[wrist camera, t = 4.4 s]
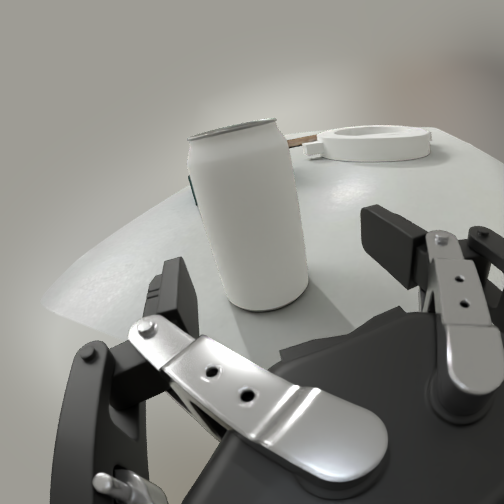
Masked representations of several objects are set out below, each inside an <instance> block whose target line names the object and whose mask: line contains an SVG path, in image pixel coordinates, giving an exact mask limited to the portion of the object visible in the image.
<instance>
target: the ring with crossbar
mask: <svg viewBox="0 0 504 504" xmlns="http://www.w3.org/2000/svg"><path fill="white" fill-rule="evenodd" d="M429 141H432V136H431V132H428V131H427V130H424V129H420V128H415V127H407V126H393V125H371V126H354V127H346V128H338V129H332V130H327V131H323V132H320V133H318V134H317V141H315V142H308V143H302V146H303V152H304V154H305V155H307V156H311V155H317V154H320V156H322V157H324V158H327V159H332V160H340V161H353V162H388V161H403V160H411V159H417V158H421V157H425V156H427V155H428V154H429V153H430V144H429Z"/></svg>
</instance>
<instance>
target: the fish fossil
mask: <svg viewBox="0 0 504 504" xmlns="http://www.w3.org/2000/svg"><path fill="white" fill-rule="evenodd" d="M315 140H317V134H316V135H312V136H306V137H302V138H297V139H292V140H287V142H288V146H289V147H292V146H297V145H300V144H301V145H302V143H308V142H312V141H315Z"/></svg>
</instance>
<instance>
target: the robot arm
mask: <svg viewBox="0 0 504 504" xmlns="http://www.w3.org/2000/svg"><path fill="white" fill-rule="evenodd" d="M360 215H361V241H362V245H363V248H364V250H365V251H366V253H368V254H369V255H370V256H371V257H372V258H373V259H374V260H375V261H377V262H378V263H379V264H380V265H381V266H382V267H383V268H384V269H386V270H387V271H388V272H389V273H390V274H391V275H392V276H393V277H394V278H395V279H396V280H398V281H399V282H400V283H401V284H402V285H403V286H404V287H405V288H406V289H407V290H409V289H411V288H414V287H416V286H418V285H419V292H418V302H419V312H411V313H406V312H405V311H404V310H403V309H402V308H401V307H400V306H398V307H395V308H393V309H391V310H389V311H386V312H384V313H382V314H379V315H377V316H374V317H373V318H371V319H370V320H369V321H367V322H366V323H364V324H363V325H361V326H360V327H359V328H357V329H356V330H354V331H353V332H351V333H349V334H347V335H341V336H335V337H329V338H322V339H315V340H311V341H308V342H305V343H302V344H299V345H295V346H292V347H289V348H286V349H283V350H279V351H280V356H281V360H282V361H280V362H278V363H276V364H275V365H273V366H272V367H271V368H269V369H268V370H265V369H263V368H261V367H260V366H258V365H256V364H254V363H252V362H251V361H249V360H247V359H245V358H243V357H242V356H240V355H238V354H236V353H235V352H233V351H231V350H230V349H228V348H226V347H224V346H223V345H221V344H219V343H218V342H216V341H214V340H213V339H211V338H210V337H208V336H206V335H200V336H199V322H198V303H197V296H196V292H195V289H194V286H193V284H192V281H191V278H190V276H189V273H188V271H187V268H186V265H185V262H184V260H183V258H182V257H178V258H174V259H171V260H167V261H164V265H163V271H162V274H160V275H157V276H155V277H154V279H153V280H152V281H151V283H150V284H149V289H148V293H147V299H146V303H145V307H144V312H143V317H142V318H141V319H140V320H138V321H137V322H136V323H134V324H133V325H132V327H131V328H130V330H129V332H128V340H127V341H125V342H123V343H121V344H119V345H117V346H115V347H113V348H110V349H109V348H108V347H107V345H106V344H105V343H104V342H102V341H92V342H89V343H87V344H86V345H84V346H83V347H82V348H80V349H79V351H78V352H77V353H76V355H75V357H74V360H73V363H72V367H71V371H70V375H69V378H68V382H67V386H66V390H65V394H64V399H63V403H62V408H61V413H60V418H59V424H58V429H57V435H56V441H55V448H54V456H53V464H52V474H51V475H52V476H51V489H50V504H168V501H167V498H166V495H165V493H164V492H163V490H162V489H161V488H160V487H158V486H157V485H155V484H154V483H152V482H150V481H149V472H148V460H147V442H146V441H147V439H146V400H147V399H149V398H152V397H154V396H156V395H158V394H160V393H162V392H164V391H165V392H166V393H167V394H168V395H169V396H170V397H171V398H172V399H173V400H174V401H175V402H176V403H177V404H179V405H180V406H181V407H182V408H183V409H184V410H185V411H186V412H187V413H188V414H190V415H191V416H192V417H193V418H194V419H195V420H196V421H197V422H198V423H200V425H201V426H202V427H204V429H205V430H207V432H209V433H210V434H211V435H212V436H213V437H214V438H215V439H217V440H218V441H219V442H220V443H219V445H218V447H217V448H216V450H215V452H214V453H213V455H212V457H211V458H210V460H209V461H208V463H207V464H206V466H205V468H204V469H203V471H202V472H201V474H200V475H199V477H198V479H197V480H196V482H195V483H194V485H193V486H192V488H191V489H190V491H189V492H188V494H187V495H186V497H185V498H184V500H183V501H182V504H504V289H503V292H502V291H501V290H500V289H499V288H497V287H496V286H495V285H494V284H493V283H492V282H491V281H489V280H488V279H487V278H488V274H489V271H490V267H491V263H492V264H493V265H494V266H496V267H497V268H498V269H500V270H501V271H502V272H503V273H504V238H503V237H501V236H500V235H498V234H497V233H495V232H494V231H492V230H490V229H488V228H486V227H482V226H474V227H471V228H470V229H469V234H468V239H463V240H458V239H457V238H456V236H455V235H453V234H452V233H449V232H447V231H442V230H434V231H430V232H427V231H425V230H424V229H422V228H420V227H419V226H417V225H415V224H414V223H413V224H412V222H410V221H409V220H406V219H405V218H404V217H402V216H400V215H398V214H395V213H392V212H390V211H388V210H387V209H385V208H383V207H381V206H379V205H377V204H376V205H372V206H368V207H364V208H362V209H361V213H360ZM492 323H493V324H494V325H493V324H492Z"/></svg>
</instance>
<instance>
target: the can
mask: <svg viewBox="0 0 504 504" xmlns="http://www.w3.org/2000/svg"><path fill="white" fill-rule="evenodd" d="M275 121H276V118H270V119H263V120H257V121H251V122H246V123H241V124H237V125H232V126H227V127H223V128H219V129H215V130H212V131H208V132H205V133H201V134H198V135H195V136H192V137H189V138H187V140H188V141H189V143H190V149H189V154H188V159H187V166H188V171H189V175H190V179H191V182H192V186H193V190H194V193H195V197H196V200H197V204H198V207H199V210H200V214H201V217H202V221H203V224H204V227H205V231H206V234H207V237H208V240H209V244H210V247H211V250H212V253H213V256H214V260H215V263H216V266H217V269H218V272H219V275H220V278H221V281H222V284H223V287H224V290H225V293H226V295H227V298H228V299H229V300H230V302H232V303H233V304H234V305H236V306H238V307H240V308H242V309H245V310H248V311H255V312H264V311H271V310H276V309H279V308H282V307H284V306H286V305H288V304H290V303H292V302H293V301H294V300H296V299H297V298H298V297H299V296H300V295H301V294H302V293H303V291H304V290H305V289H306V287H307V285H308V268H307V259H306V251H305V243H304V236H303V229H302V222H301V215H300V208H299V202H298V195H297V189H296V183H295V178H294V172H293V166H292V161H291V156H290V151H289V146H288V142H287V140H286V138H285V137H284V135H283V134H282V133H281V131H280V130H279V129H278V128H277V125H276V123H275Z"/></svg>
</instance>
